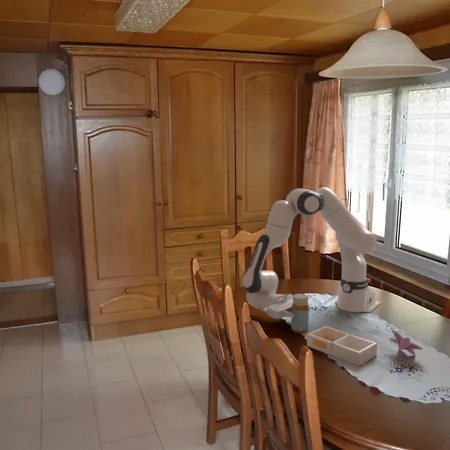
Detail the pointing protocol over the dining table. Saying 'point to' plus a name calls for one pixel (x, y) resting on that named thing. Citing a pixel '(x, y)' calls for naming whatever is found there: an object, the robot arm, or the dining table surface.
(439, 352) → the dining table surface
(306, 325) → the bottle
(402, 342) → the lily
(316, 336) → the caddy
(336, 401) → the dining table surface
